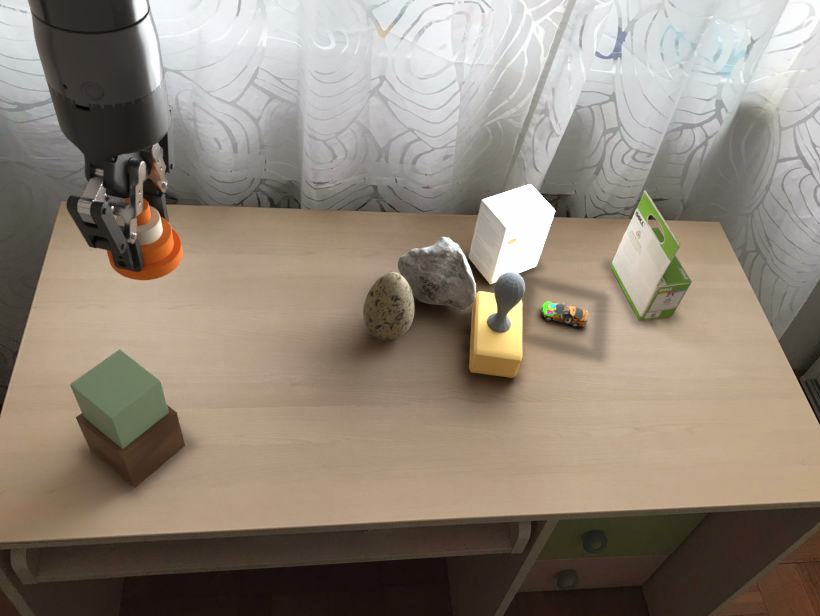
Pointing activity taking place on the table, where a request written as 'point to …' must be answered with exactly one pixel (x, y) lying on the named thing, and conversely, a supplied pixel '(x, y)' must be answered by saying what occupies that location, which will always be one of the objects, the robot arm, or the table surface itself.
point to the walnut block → (136, 447)
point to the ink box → (650, 265)
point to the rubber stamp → (498, 328)
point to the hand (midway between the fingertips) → (143, 244)
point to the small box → (510, 232)
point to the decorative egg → (389, 307)
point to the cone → (153, 245)
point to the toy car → (564, 314)
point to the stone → (439, 274)
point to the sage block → (120, 398)
